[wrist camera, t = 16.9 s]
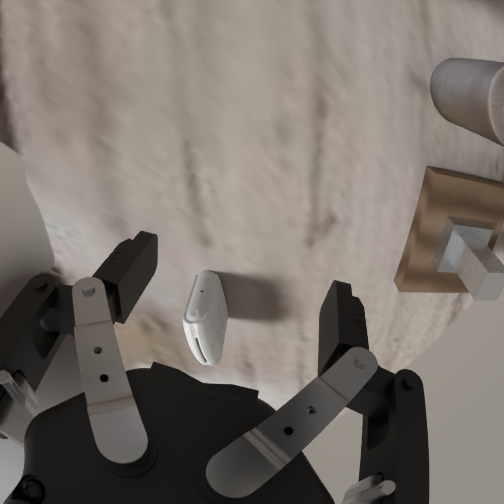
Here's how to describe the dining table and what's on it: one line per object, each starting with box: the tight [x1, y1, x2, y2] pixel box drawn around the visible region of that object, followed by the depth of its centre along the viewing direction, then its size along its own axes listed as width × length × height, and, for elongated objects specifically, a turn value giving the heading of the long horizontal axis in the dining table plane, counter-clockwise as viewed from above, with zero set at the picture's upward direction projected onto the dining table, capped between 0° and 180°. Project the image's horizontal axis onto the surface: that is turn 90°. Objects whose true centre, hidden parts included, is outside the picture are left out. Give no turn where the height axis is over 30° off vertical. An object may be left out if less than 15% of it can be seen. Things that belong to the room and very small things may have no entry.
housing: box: [431, 216, 504, 301], centre depth 36 cm, size 8×8×11 cm
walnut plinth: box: [394, 166, 504, 293], centre depth 42 cm, size 20×16×3 cm
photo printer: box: [183, 271, 228, 366], centre depth 48 cm, size 10×4×12 cm, turn 8°
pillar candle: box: [430, 58, 504, 146], centre depth 25 cm, size 10×10×15 cm
